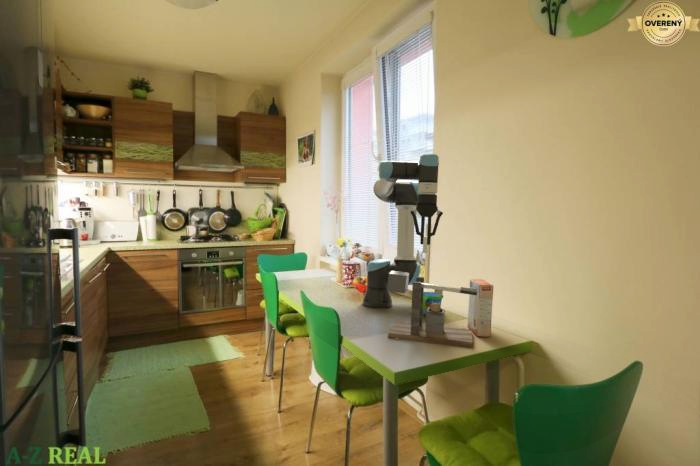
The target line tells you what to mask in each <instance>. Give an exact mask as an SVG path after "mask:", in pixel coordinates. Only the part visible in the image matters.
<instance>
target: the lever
mask: <svg viewBox="0 0 700 466" xmlns="http://www.w3.org/2000/svg"><path fill="white" fill-rule="evenodd" d="M408 281H409V273H407V272H400V271H393V270H392V271H391V272H390V273H389V276H388V286H387V291H390V293H391V292H392V293H398V294H406V292H408V289H409V285H408ZM419 282H421V281H419ZM421 287H422V288H425V289H431V290H434V291H433V292H434V295H440V296H442V294H443V293H444V292H450V293H458V294H464V295H469V294H470V295H477V289H471V288H470V287H465V286H464V287H463V286H461V287H460V288H459V287H453V286H446V285H445V286H444V285H439V284H433V283H432V284H431V283H425V282H424V283H421ZM443 295H444V294H443Z"/></svg>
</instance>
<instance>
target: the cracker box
mask: <svg viewBox="0 0 700 466" xmlns="http://www.w3.org/2000/svg"><path fill="white" fill-rule="evenodd" d="M469 288H471V289H477V295H470V294H468V308H467V309H468V310H467V313H468V314H467V328H469V329H470V330H472V334H474V335H475V336H476V337H484V338H490V337H491V336H492V333H491V332H492V319H493V318H492V315H493V299H494V285H493V284H491V283H489V282H487V281H486V280H485V279H481V278H479V279H478V278H470V279H469Z"/></svg>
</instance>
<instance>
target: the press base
mask: <svg viewBox="0 0 700 466" xmlns="http://www.w3.org/2000/svg"><path fill="white" fill-rule="evenodd" d="M419 281H421V282H419ZM421 283H425V277H424V276H419V277H416V282H413V285H411V286H412V290H411V292H412V294H411V315H410V317H411V318H410V322H404V321H403V322H402V321H396V320H395V321H394V322H393V324H392V325H391V327H390V329H389V331H388V333H387V338H388V337H391V338H390V339H395V338H398V339H397V340H403V339H404V340H405V341H413V342H421V343H428V344H439V345H447V346H455V347H464V348H470V349H471V348H473V332H472V330H471V329H470V328H469V329H468V328H460V327H450V326H445V311H446V309H445V308H441V310H440V312H433V311H431V309H430V308H429V307H428V308H427V311H426V315H425V324H423V319H424V318H423V317H424V314H423V294H424V292H425V291H424V290H425V289H424V288H422V287H421Z"/></svg>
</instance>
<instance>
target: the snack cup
mask: <svg viewBox="0 0 700 466" xmlns="http://www.w3.org/2000/svg"><path fill="white" fill-rule="evenodd" d="M443 298H444V294H442V296H440V295H434V291H424V294H423V316H426V311H427V308H428V307H429V308H430V307H431V305H432V304H433V303H438V304H439V305H440V306H442V300H443Z"/></svg>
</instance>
